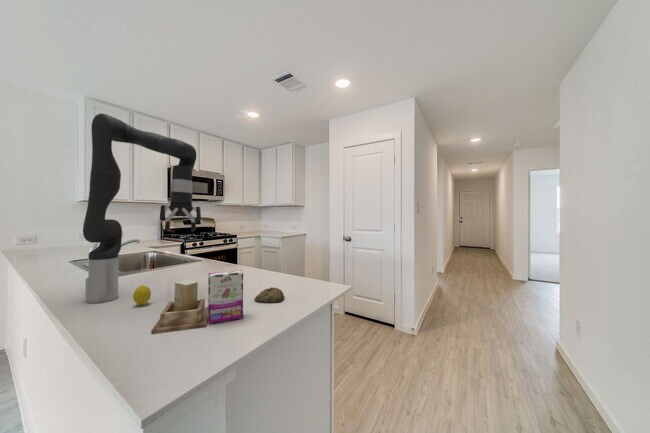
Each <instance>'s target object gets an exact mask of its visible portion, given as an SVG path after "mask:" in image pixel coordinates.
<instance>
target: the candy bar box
mask: <svg viewBox="0 0 650 433" xmlns="http://www.w3.org/2000/svg"><path fill="white" fill-rule="evenodd" d="M207 275H208V278H207V281H208V282H207V283H208V284H207V285H208V287H207V288H208V290H207V291H208V292H207V295H208V298H207V304H208V306H207V307H208V321H207V324H208V325H214V324H219V323H226V322H231V321H236V320H242V319H244V271H243V270H241V269H239V270H229V271H227V270H226V271H218V272H217V271H216V272H208V274H207Z"/></svg>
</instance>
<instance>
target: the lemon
mask: <svg viewBox="0 0 650 433" xmlns="http://www.w3.org/2000/svg"><path fill="white" fill-rule="evenodd" d="M132 297H133V301H134V303H135V304H138V305H140V306H144V304H146V303H148V302H149V301H150V299H151V297H152V292H151V289H150V287H148V286H147V285H145V284H142V285H140V286H137V287H136V289H135V290H134V291H133V295H132Z"/></svg>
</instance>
